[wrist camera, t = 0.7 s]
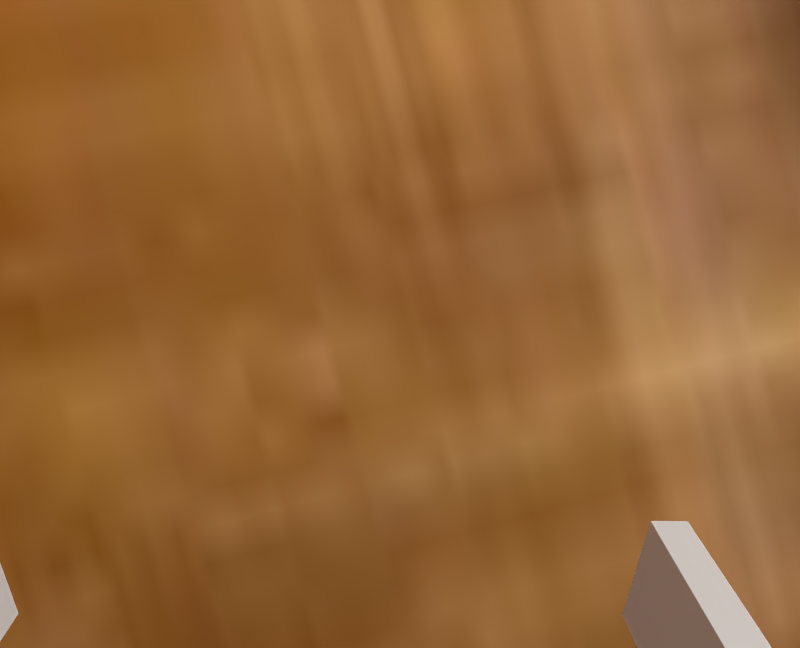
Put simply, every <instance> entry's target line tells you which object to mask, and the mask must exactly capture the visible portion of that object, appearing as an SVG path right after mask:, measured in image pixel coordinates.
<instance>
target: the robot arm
mask: <svg viewBox="0 0 800 648" xmlns="http://www.w3.org/2000/svg"><path fill="white" fill-rule="evenodd" d="M17 615H18V611H17V608H16V606H15V603H14V600H13V597H12V594H11V592H10V589H9V586H8V583H7V581H6V578H5V575H4V572H3V569H2V567H1V564H0V641H1V639H2V638H3V636H4V635H5V633H6V632H7V630H8V629H9V627H10V626H11V624H12V622H13V621H14V619H15V618H16V616H17ZM623 617H624V619H625V621H626V624H627V626H628V628H629V630H630V633H631V635H632V637H633V640H634V642H635V644H636V647H637V648H771V646H770V644H769V643H768V641H767V640H766V638H765V637H764V635H763V634H762V632H761V631H760V629H759V628H758V626H757V625H756V623H755V622H754V620H753V619H752V617H751V616H750V614H749V613H748V611H747V610H746V608H745V607H744V605H743V604H742V602H741V601H740V599H739V598H738V596H737V595H736V593H735V592H734V590H733V589H732V587H731V586H730V584H729V583H728V581H727V580H726V578H725V577H724V575H723V574H722V572H721V571H720V569H719V568H718V566H717V565H716V563H715V562H714V560H713V559H712V557H711V556H710V554H709V553H708V551H707V550H706V548H705V547H704V545H703V544H702V542H701V541H700V539H699V538H698V536H697V535H696V533H695V532H694V530H693V529H692V527H691V526H690V524H689V523H688V521H651V522H650V525H649V529H648V532H647V535H646V539H645V542H644V545H643V548H642V552H641V555H640V558H639V562H638V565H637V568H636V571H635V575H634V578H633V581H632V585H631V588H630V591H629V594H628V598H627V601H626V604H625V608H624V611H623Z"/></svg>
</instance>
